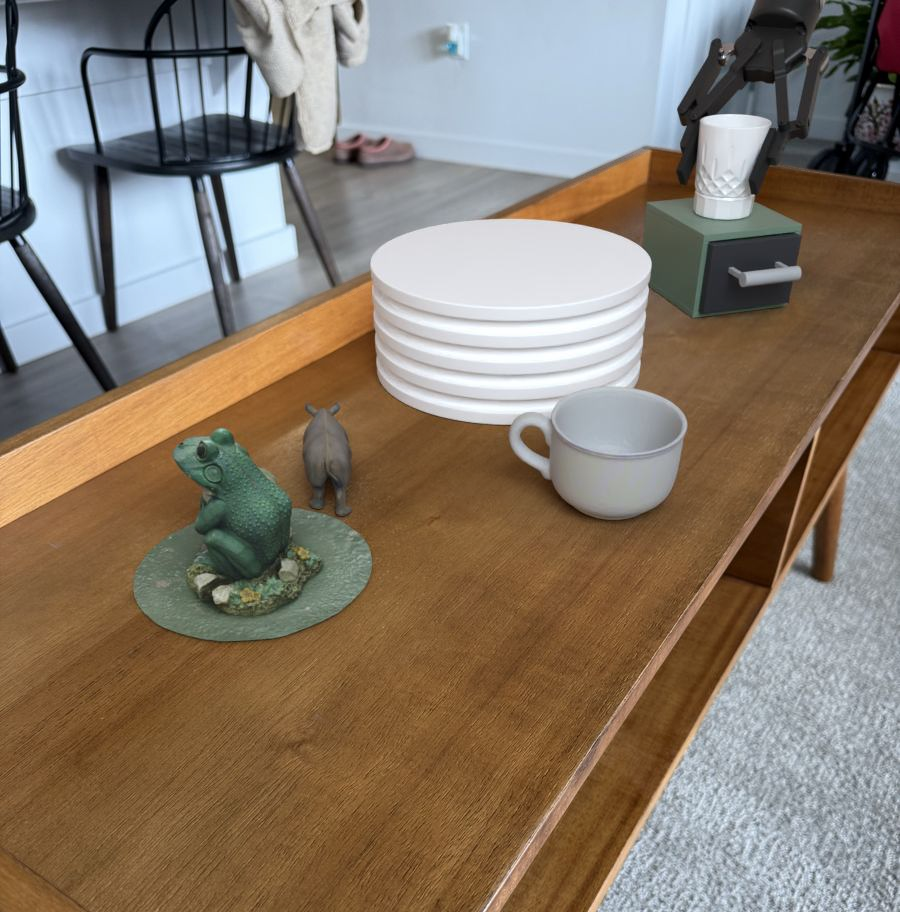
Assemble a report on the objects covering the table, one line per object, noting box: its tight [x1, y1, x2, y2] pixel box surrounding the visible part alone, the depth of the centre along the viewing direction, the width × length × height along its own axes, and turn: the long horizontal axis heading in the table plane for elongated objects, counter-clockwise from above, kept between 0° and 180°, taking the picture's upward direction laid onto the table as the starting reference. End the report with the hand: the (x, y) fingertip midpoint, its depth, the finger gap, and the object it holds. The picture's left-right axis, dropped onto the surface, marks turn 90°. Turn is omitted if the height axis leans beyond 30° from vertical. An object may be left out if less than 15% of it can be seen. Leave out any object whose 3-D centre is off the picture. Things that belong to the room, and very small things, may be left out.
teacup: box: [508, 386, 688, 521], centre depth 79 cm, size 14×11×8 cm
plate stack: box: [369, 218, 652, 426], centre depth 100 cm, size 28×28×12 cm
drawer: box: [699, 233, 803, 314], centre depth 115 cm, size 18×11×8 cm, turn 17°
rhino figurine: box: [301, 402, 353, 517], centre depth 83 cm, size 4×14×6 cm, turn 9°
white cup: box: [693, 113, 772, 220], centre depth 112 cm, size 8×8×10 cm
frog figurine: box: [132, 427, 373, 642], centre depth 70 cm, size 18×18×12 cm
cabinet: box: [641, 197, 803, 319], centre depth 118 cm, size 15×13×10 cm
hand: (716, 182), depth 110 cm, fingers closed on white cup, 8 cm apart
